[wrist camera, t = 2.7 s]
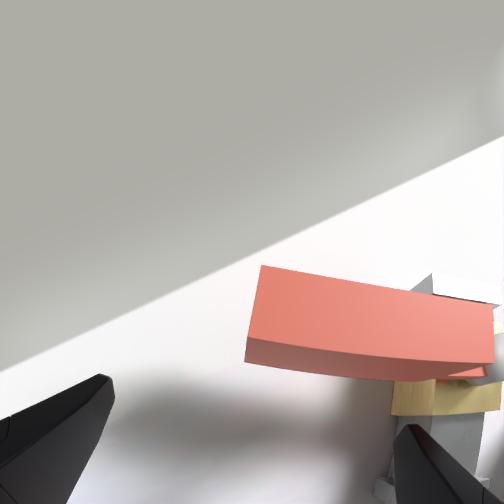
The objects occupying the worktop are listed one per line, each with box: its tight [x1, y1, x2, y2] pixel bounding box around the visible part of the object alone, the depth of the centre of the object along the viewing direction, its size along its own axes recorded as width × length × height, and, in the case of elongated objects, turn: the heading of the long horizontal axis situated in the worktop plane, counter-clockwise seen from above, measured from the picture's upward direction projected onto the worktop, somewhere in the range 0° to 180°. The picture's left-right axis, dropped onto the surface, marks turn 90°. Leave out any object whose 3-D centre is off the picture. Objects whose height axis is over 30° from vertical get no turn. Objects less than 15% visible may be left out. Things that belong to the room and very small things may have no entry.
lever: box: [244, 265, 504, 387], centre depth 10 cm, size 13×2×5 cm, turn 79°
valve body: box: [372, 273, 502, 504], centre depth 14 cm, size 13×6×5 cm, turn 169°
